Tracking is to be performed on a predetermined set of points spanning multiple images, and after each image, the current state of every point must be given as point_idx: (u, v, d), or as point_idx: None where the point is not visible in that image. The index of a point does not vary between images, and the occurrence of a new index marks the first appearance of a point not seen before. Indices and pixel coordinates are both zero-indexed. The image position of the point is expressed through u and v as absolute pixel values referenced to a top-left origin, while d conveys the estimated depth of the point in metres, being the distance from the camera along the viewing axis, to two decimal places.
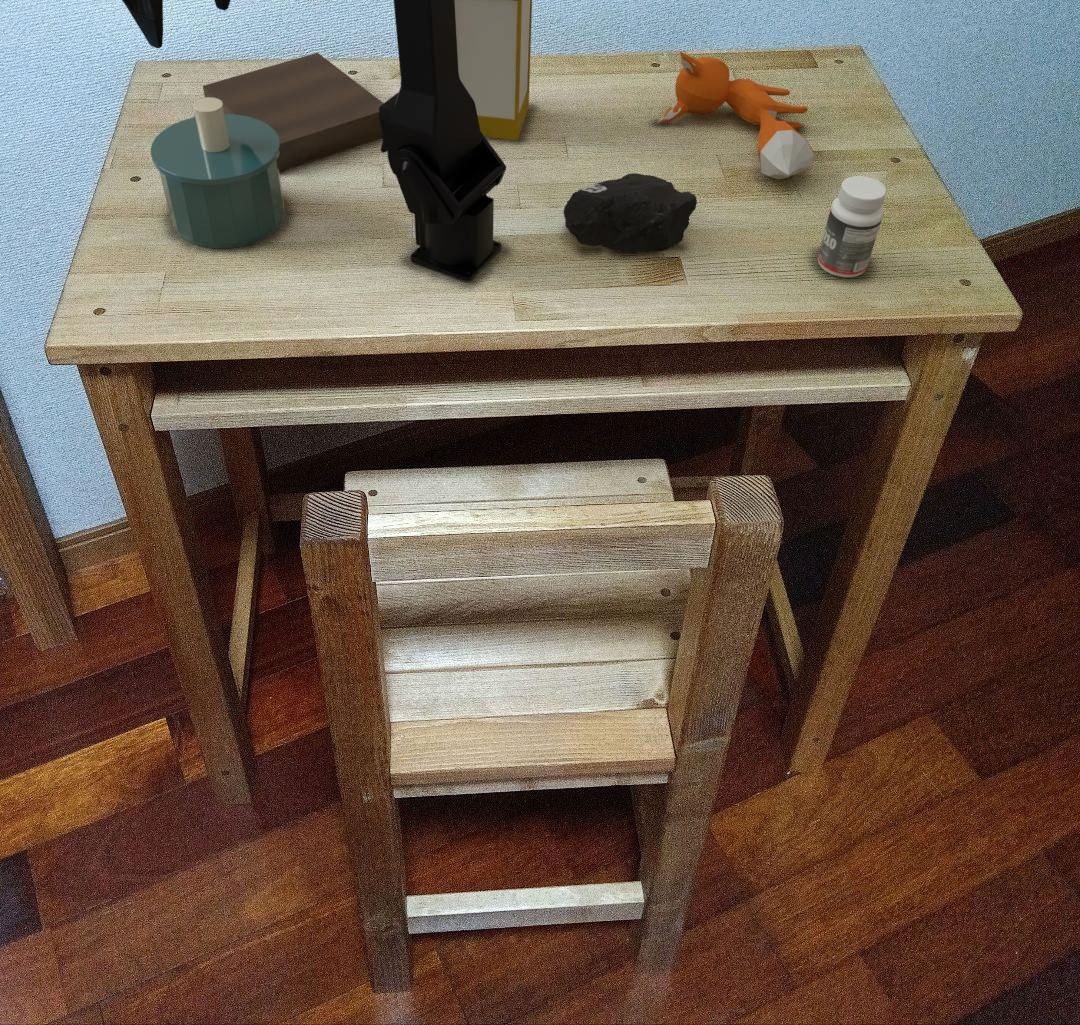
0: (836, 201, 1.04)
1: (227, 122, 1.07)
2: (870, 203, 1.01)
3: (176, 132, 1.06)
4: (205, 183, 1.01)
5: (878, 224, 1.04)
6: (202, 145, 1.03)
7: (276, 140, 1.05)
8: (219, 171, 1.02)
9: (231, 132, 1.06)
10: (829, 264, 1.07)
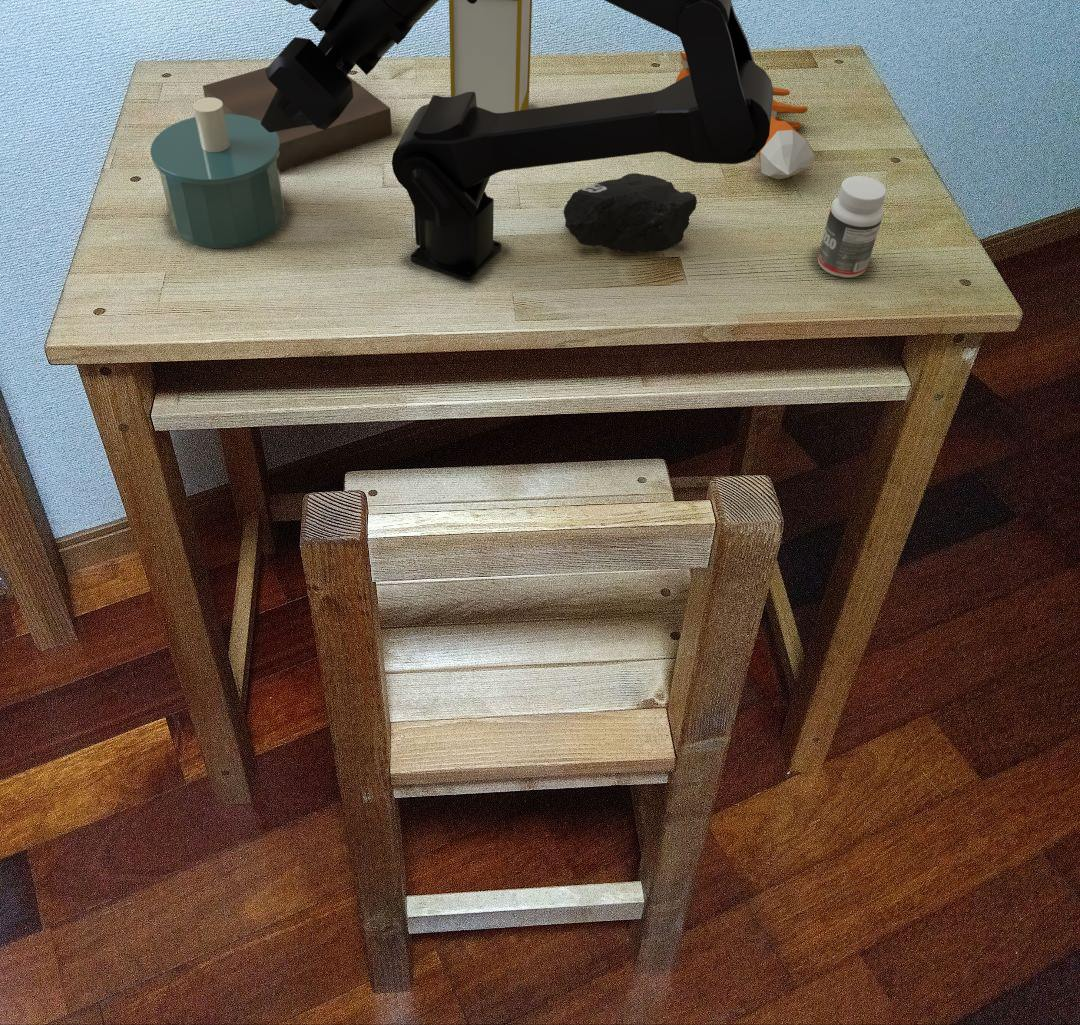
0: (836, 201, 1.04)
1: (227, 122, 1.07)
2: (870, 203, 1.01)
3: (176, 132, 1.06)
4: (205, 183, 1.01)
5: (878, 224, 1.04)
6: (202, 145, 1.03)
7: (276, 140, 1.05)
8: (219, 171, 1.02)
9: (231, 132, 1.06)
10: (829, 264, 1.07)
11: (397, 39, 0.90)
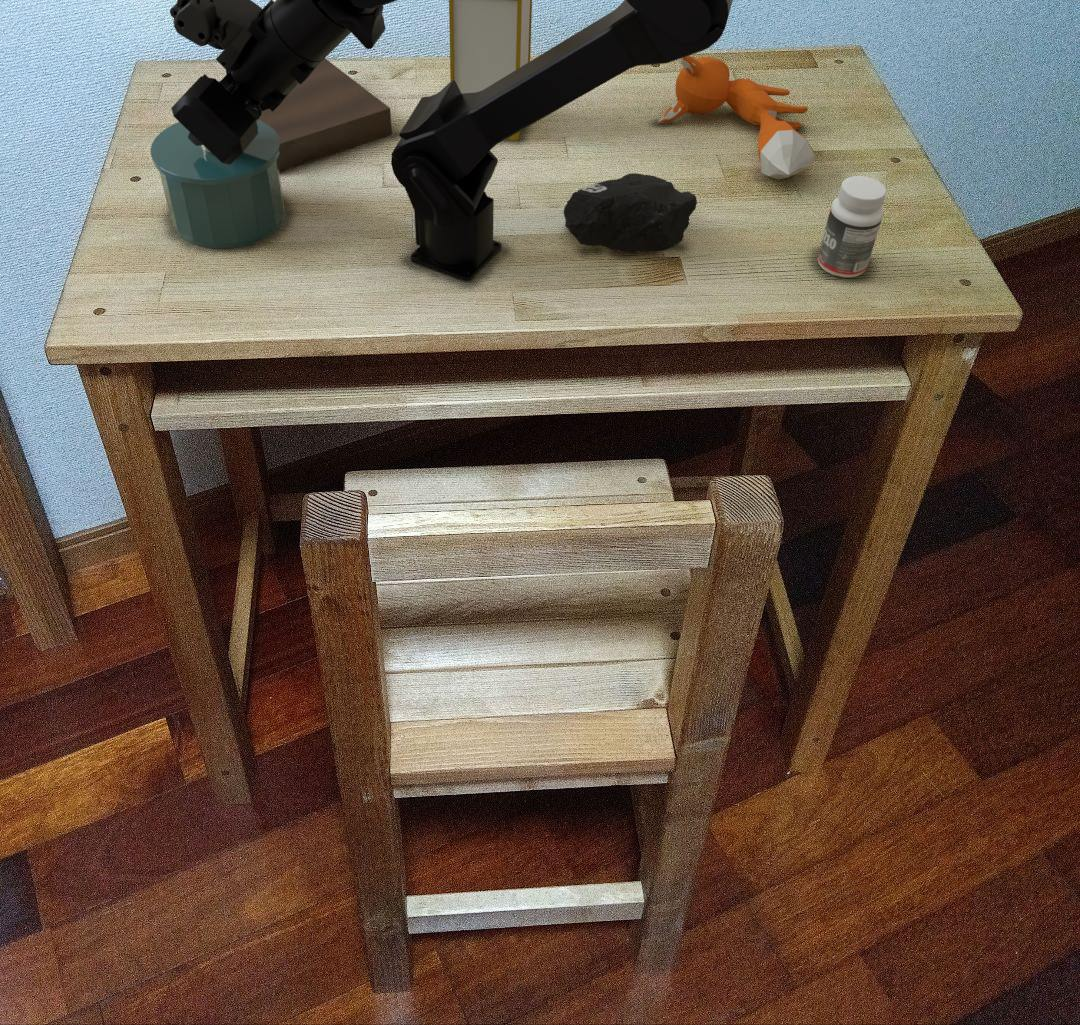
0: (836, 201, 1.04)
1: None
2: (870, 203, 1.01)
3: (176, 132, 1.06)
4: (205, 183, 1.01)
5: (878, 224, 1.04)
6: (202, 145, 1.03)
7: (276, 140, 1.05)
8: (219, 171, 1.02)
9: None
10: (829, 264, 1.07)
11: (300, 79, 0.95)
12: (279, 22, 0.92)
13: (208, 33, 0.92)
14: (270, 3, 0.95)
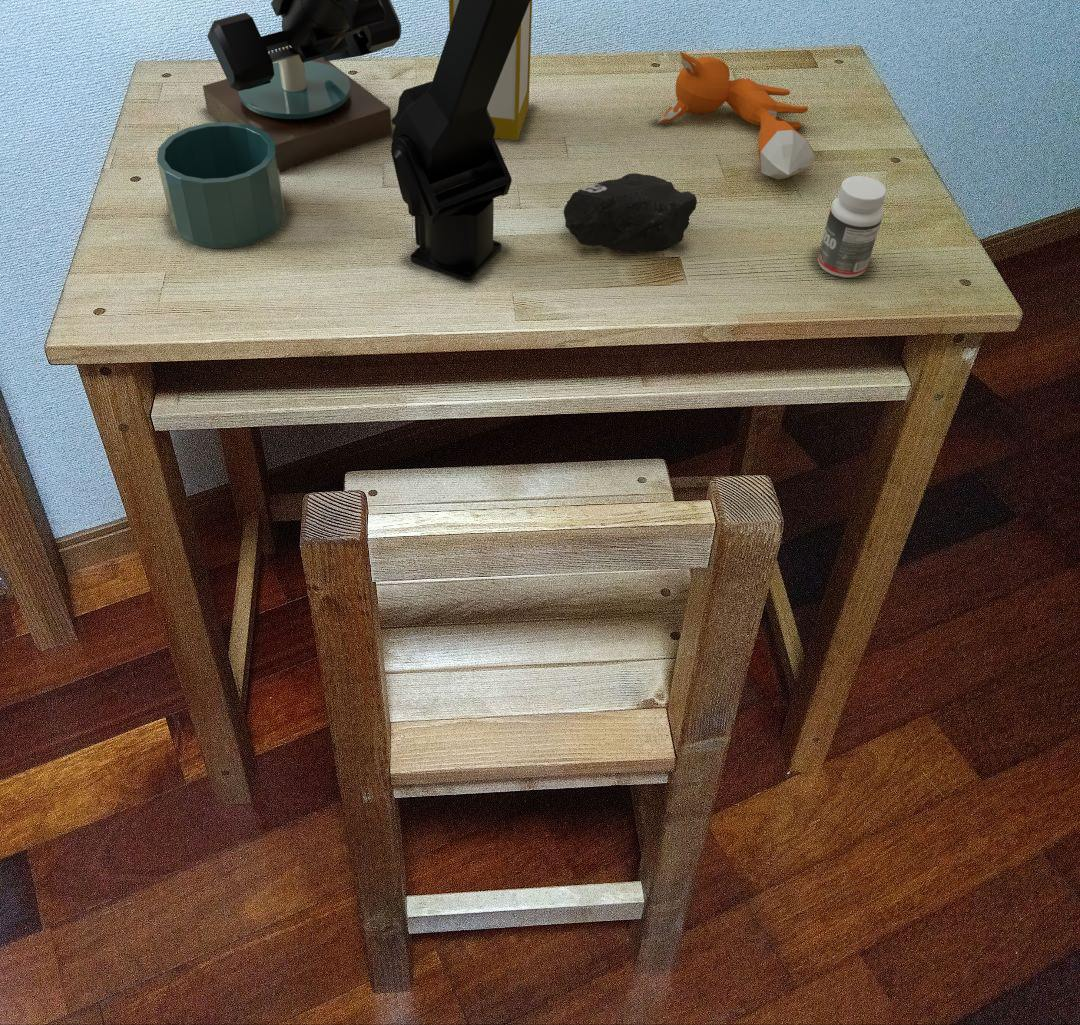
0: (836, 201, 1.04)
1: (325, 73, 1.21)
2: (870, 203, 1.01)
3: None
4: (253, 110, 1.16)
5: (878, 224, 1.04)
6: (281, 82, 1.19)
7: (339, 99, 1.18)
8: (270, 104, 1.17)
9: (317, 81, 1.20)
10: (829, 264, 1.07)
11: (314, 40, 1.06)
12: None
13: None
14: None
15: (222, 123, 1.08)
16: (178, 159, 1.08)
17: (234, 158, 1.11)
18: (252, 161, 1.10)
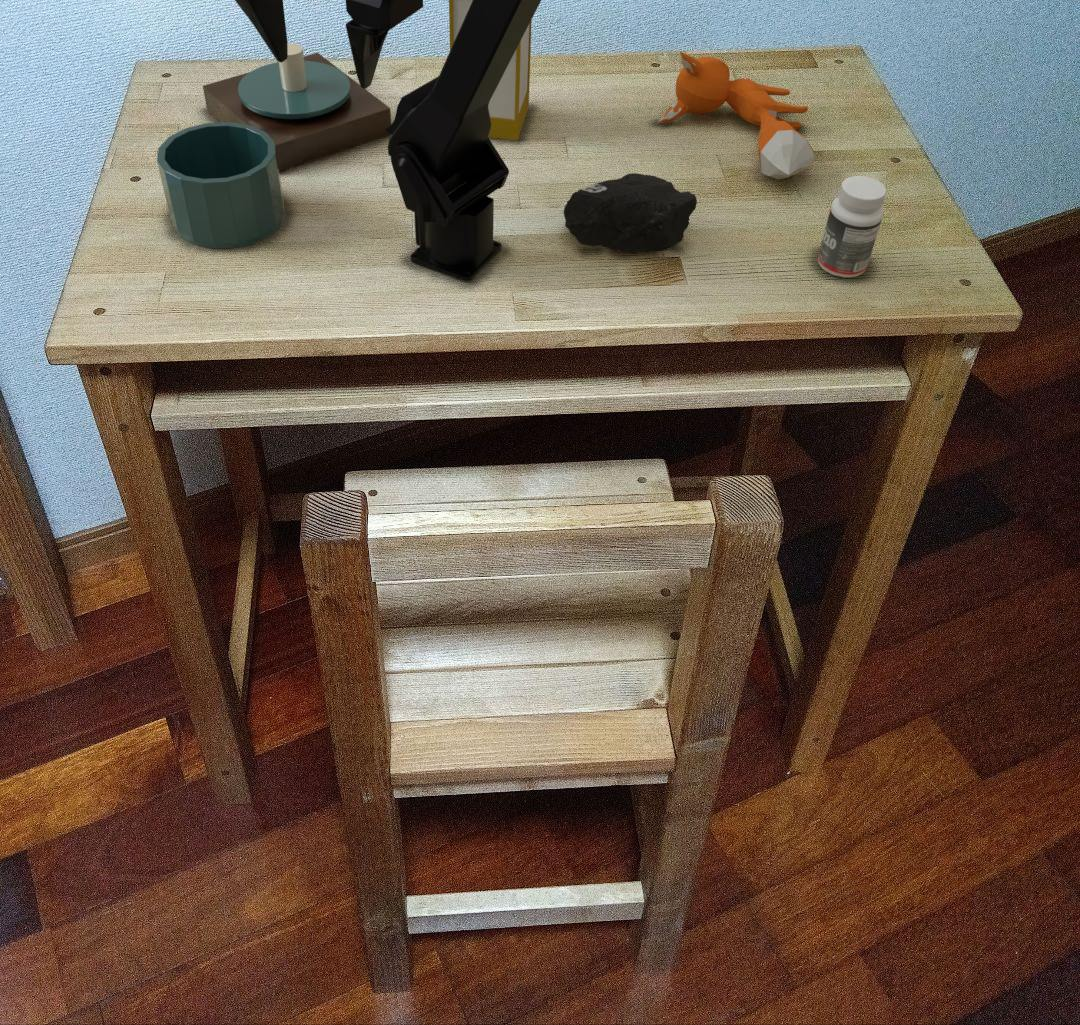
0: (836, 201, 1.04)
1: (325, 73, 1.21)
2: (870, 203, 1.01)
3: None
4: (253, 110, 1.16)
5: (878, 224, 1.04)
6: (281, 82, 1.19)
7: (339, 99, 1.18)
8: (270, 104, 1.17)
9: (317, 81, 1.20)
10: (829, 264, 1.07)
11: None
12: None
13: None
14: None
15: (222, 123, 1.08)
16: (178, 159, 1.08)
17: (234, 158, 1.11)
18: (252, 161, 1.10)
